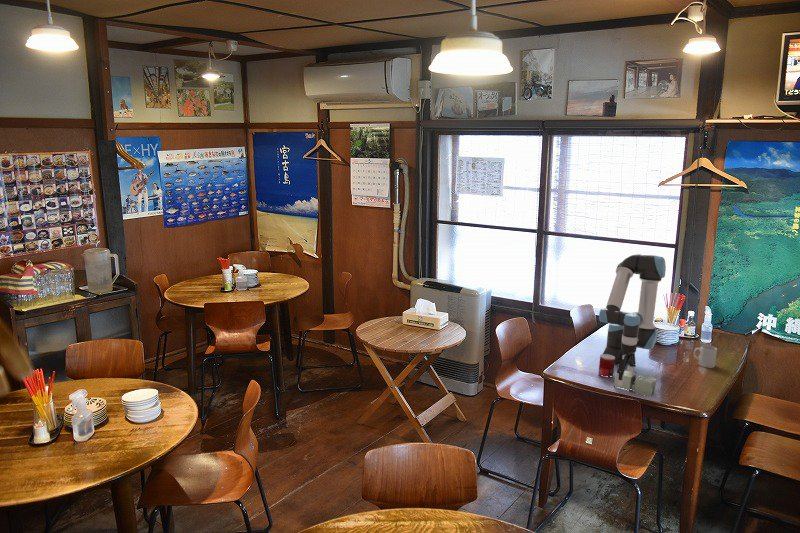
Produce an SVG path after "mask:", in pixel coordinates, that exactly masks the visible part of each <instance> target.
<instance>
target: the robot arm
mask: <svg viewBox="0 0 800 533" xmlns="http://www.w3.org/2000/svg"><path fill="white" fill-rule="evenodd" d="M666 271H667V269H666V261H665V258H664V257H663V256H659V255H652V254H644V253H630V254H628V255H626V256H625V257H624V258H623V259H621V260H620V261H619V263H618V264H617V266H616V268H615V274H616V275H615V278H614V282H613V283H612V288H611V291H610V294H609V297H608V299H607V303H606V306H605V308H601V309H600V310H599V313H598V320H599V322H602V323H605V324H609V325H608V328H607V335H606V336H607V337H606V346H605V348H604V350H603V352H602V354H609V355H612V356H614V357H615V365H618V364H619V365H618V367H617V371H616V373H618V382H617V385H619V386H623V381H624V371H626V369H627V371H629V372H632V373H634V369H635V368H636V363H637V362H636V352H637V348H638V349H642V350H652V349H653V348H654V346H655V344H656V341H657V338H658V334H659V331H658V330H657V329H656V325H654V317H655V309H656V302H657V296H658V295H657V294H658V284H659V283H660V282H661V281H662V279H663V278H665V277H666ZM634 275H639V278H638V279H640V281H641V286H640V292H639V293H640V294H639V303H638V310H637V311H635V312H627V311H621V310H622V306H623V304H624V303H623V302H624V299H625V296H626V293H627V290H628V287H629V284H630V280H631V278H632V277H633V276H634ZM627 365H628V366H627ZM620 371H621V372H620Z"/></svg>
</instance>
